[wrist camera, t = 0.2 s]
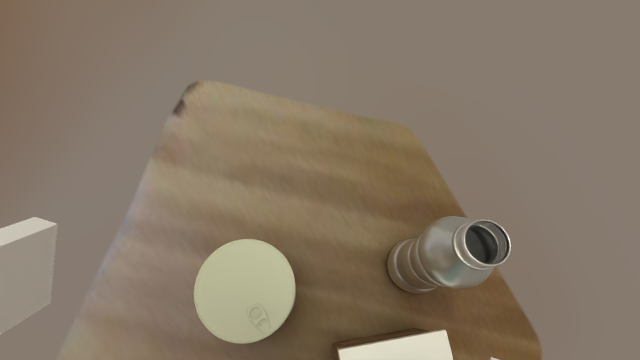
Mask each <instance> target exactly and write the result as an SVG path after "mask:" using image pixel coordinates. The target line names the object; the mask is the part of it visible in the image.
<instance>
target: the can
mask: <svg viewBox="0 0 640 360" xmlns="http://www.w3.org/2000/svg"><path fill="white" fill-rule="evenodd" d="M295 297H296V287H295V278H294V274H293V271H292V268H291V266H290V264H289V262H288V261H287V259H286V258H285V256H284V255H283V254H282V253H281V252H280V251H279V250H278V249H276V248H275V247H273V246H272V245H270V244H268V243H266V242H263V241H259V240H254V239H241V240H236V241H232V242H230V243H227V244H225V245H223V246H221V247H220V248H218V249H217V250H215V251H214V252H213V253H212V254H211V255H210V256H209V257H208V258H207V259H206V261H205V262H204V263H203V265H202V267H201V269H200V270H199V273H198V275H197V278H196V282H195V287H194V302H195V307H196V311H197V314H198V316H199V318H200V320H201V322H202V323H203V324H204V326H205V327H206V328H207V329H208V330H209V331H210V332H211V333H212V334H213V335H215V336H216V337H218V338H220V339H222V340H224V341H227V342H231V343H237V344H246V343H253V342H256V341H259V340H262V339H264V338H266V337H268V336H269V335H271V334H272V333H274V332H275V331H276V330H277V329H278V328H279V327H280V326H281V325H282V324H283V323H284V321H285V320H286V319H287V317H288V316H289V314H290V313H291V311H292V308H293V306H294V302H295Z"/></svg>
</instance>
